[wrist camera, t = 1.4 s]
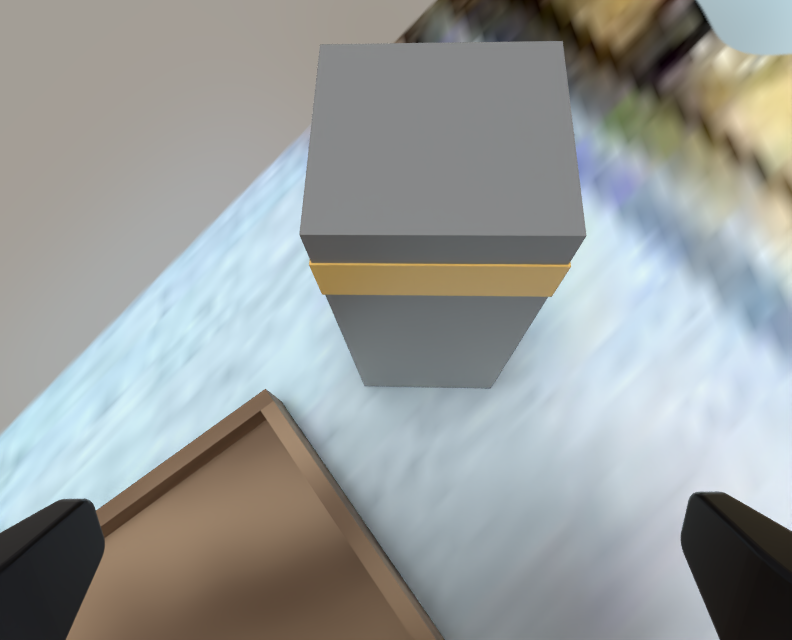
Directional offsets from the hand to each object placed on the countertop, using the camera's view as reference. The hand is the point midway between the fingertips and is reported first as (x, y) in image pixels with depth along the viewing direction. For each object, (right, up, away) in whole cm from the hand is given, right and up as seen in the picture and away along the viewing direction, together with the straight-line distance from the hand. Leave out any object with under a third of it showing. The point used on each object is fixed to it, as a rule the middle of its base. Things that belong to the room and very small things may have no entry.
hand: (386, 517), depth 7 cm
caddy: (+2, +2, +15) cm, 15 cm away
